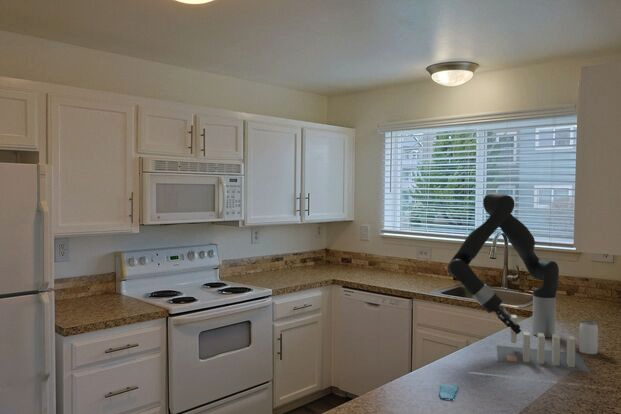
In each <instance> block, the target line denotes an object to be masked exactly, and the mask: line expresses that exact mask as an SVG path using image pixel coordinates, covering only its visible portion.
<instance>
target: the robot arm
mask: <svg viewBox="0 0 621 414" xmlns="http://www.w3.org/2000/svg"><path fill="white" fill-rule="evenodd" d="M482 204H483V208H484V210H485V212H486V213H487V214H488V215H489V217H488V218H487V219H486V220H485V221H484V222H483V223H482V224H480V225H479V226H477V227H476V228H475V229H474V230H472V231H471V232H470V233H469V235H467V237H466V238H465V240H464V241H463V243H462V244H461V245H460V248H459V249H458V251H457V252H456V253H455V255H453V257H452V259H451V260H450V261H449V263H448V265H447V272H448V274H449V275H450V276H452V277H455V278H456V279H457V280H458V281H459V283H461V284H462V285H463V288H465V290H466V291H467V292H468V293H469V294H470V295H471V296H472V297H473V298H474V300H475V301H476V302H477V303H478V304H479V305H480V306H481V307H482V308H483V309H484V310H485V311H486V312H487V313H488V314H491V313H492V312H494V313H495V316H496V317H497V319H499V320H500V321H501V322H502V323H503V324H504V325H505V326H506V327H508V328H510V330H511V329H512V330H513V331H514V332H515V333H516V334H517V335H518V334H520V333H521V332H522V329H520V328H521V326H520V325H519V324H518V323H517V325H516V324H515V323H514V322H513V321H512V320H511V315H512V314H510V312H509V311H507V309H506V308H505V307H504V306H503V305H501V304H503V300H502V299H501V298H500V296H499V295H497V293H496V292H495V291H494V290H493V289H492V288H491V287H490V286H488V285H487V284H486V283H485V282H484V281H483V280H482V279H481V278H480V277H479V276H478V275H477V274H476V273H475V272H474V270H472V268H471V267H470V266H469V265H470V264H471V262H472V261H473V260H474V259H475V258H476V257H477V255H478V254H479V252H480V251H481V249H482V248H483V246H484V245H485V243H486V242H487V241H488V239H489V238H490V237H491V236H492V235H493V234H494V233H495V232H496V230H497V229H498V228H500V230H501V231H502V232H503V235H504V236H505V237H506V238H507V240H508V241H509V243H510V244H511V247H513V249H514V250H515V251H516V252H517V254H518V255H519V257H520V259H521V260H522V262H523V264H524V266H525V268H526V270H527V271H528V273H529V275H530V276H531V277H532V278H533V279H535V280H538V281H542V282H543V283H542V286H540V287H536V288H534V289H533V290H532V324H531V327H532V328H531V333H532V335H534V336H536V337H538V333H544V336H545V338H552V334H556V312H557V310H556V303H557V302H556V301H557V300H556V299H557V292H558V287H559V285H558V284H559V275H560V269H559V266H558V263H557V262H556V261H553V260H550V259H549V260H548V259H541V258H539V257H538V256H537V255H536V253H535V246H536V240H535V238H534V235H533V234H532V232H531V231H530V230H529V228H528V227H527V226H526V225H525V224H524V223H523V222H522V221H520V220H519V219H518V218H516V216H514V215H513V214H512V212H514V211H513V210H514V209H515V200H514V198H513V197H512V196H511V195H508V194H504V193H500V192H489V193H487V194H485V196H484V197H483V200H482Z"/></svg>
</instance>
